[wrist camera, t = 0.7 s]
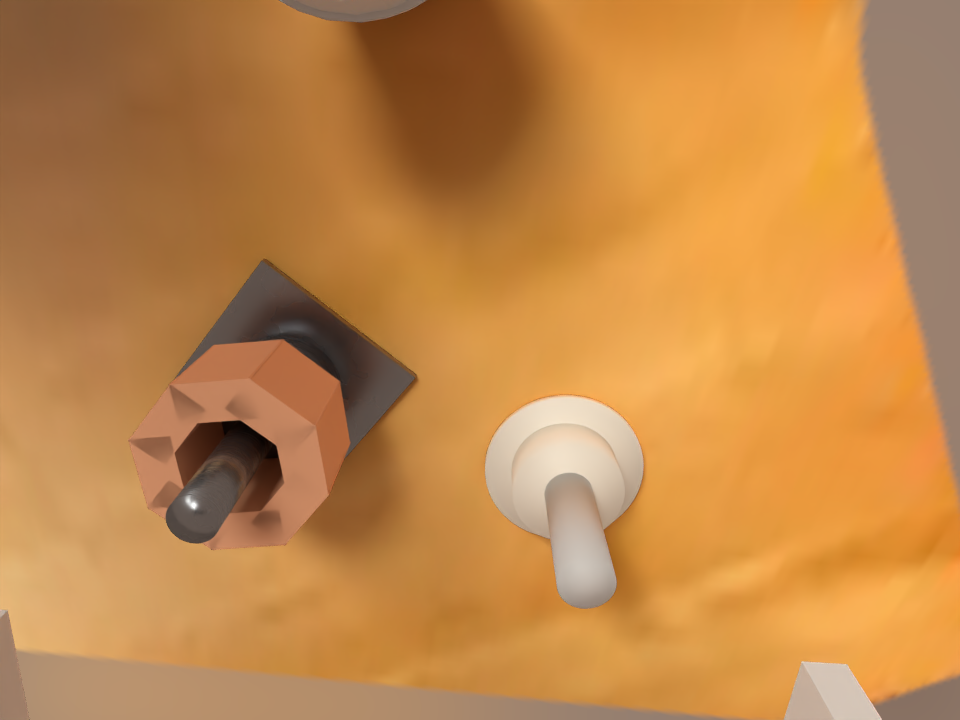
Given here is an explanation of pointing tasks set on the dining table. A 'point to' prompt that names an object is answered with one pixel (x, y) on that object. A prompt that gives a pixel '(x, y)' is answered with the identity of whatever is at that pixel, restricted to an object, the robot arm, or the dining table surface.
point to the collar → (265, 408)
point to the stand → (319, 336)
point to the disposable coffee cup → (353, 8)
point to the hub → (567, 485)
